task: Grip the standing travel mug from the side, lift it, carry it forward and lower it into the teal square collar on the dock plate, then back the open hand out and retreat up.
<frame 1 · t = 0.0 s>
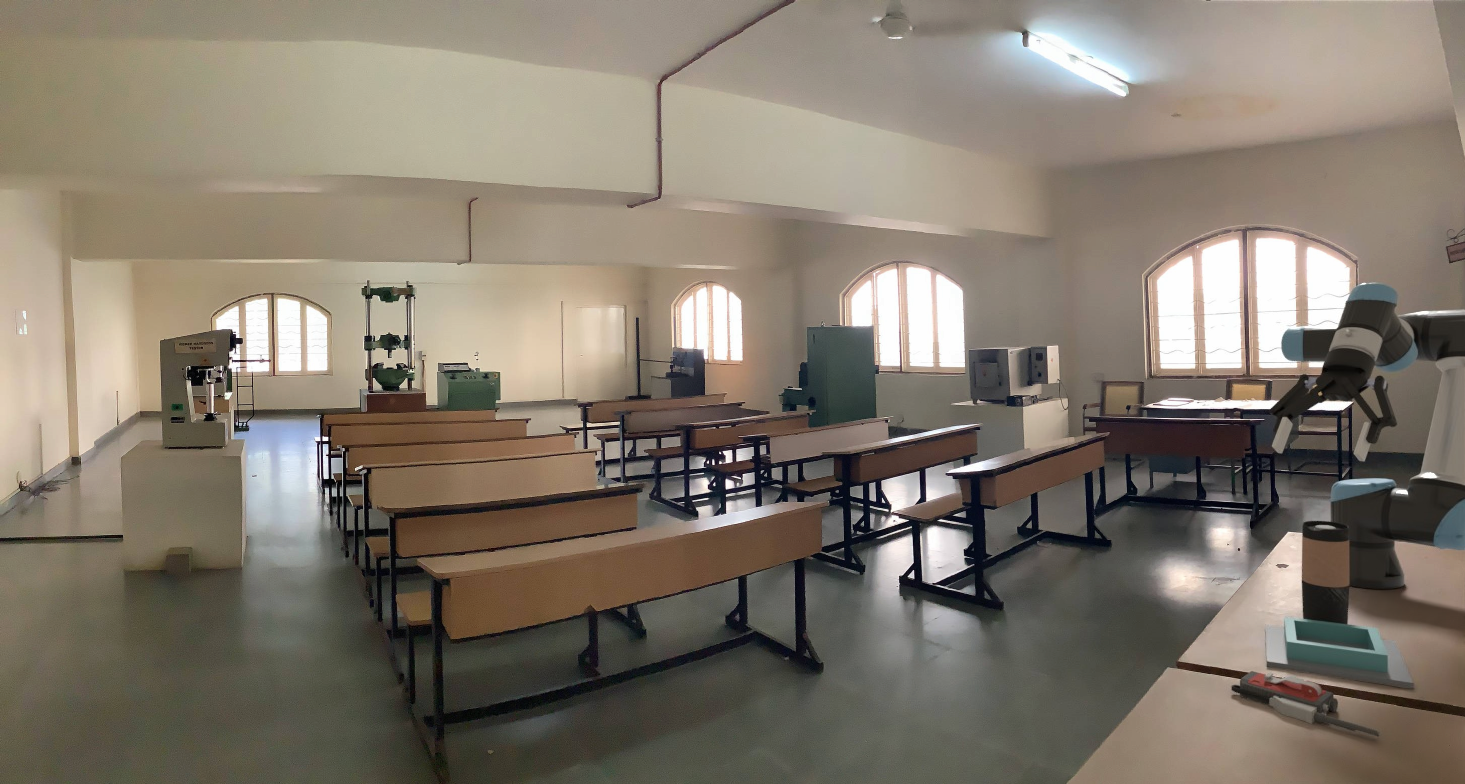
hand: (1316, 453, 149), 36 cm above the table, tool tilted 35°, fingers open, 13 cm apart
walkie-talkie: (1306, 713, 127), on the table
mug dock: (1332, 656, 146), on the table
travel mug: (1325, 624, 161), on the table
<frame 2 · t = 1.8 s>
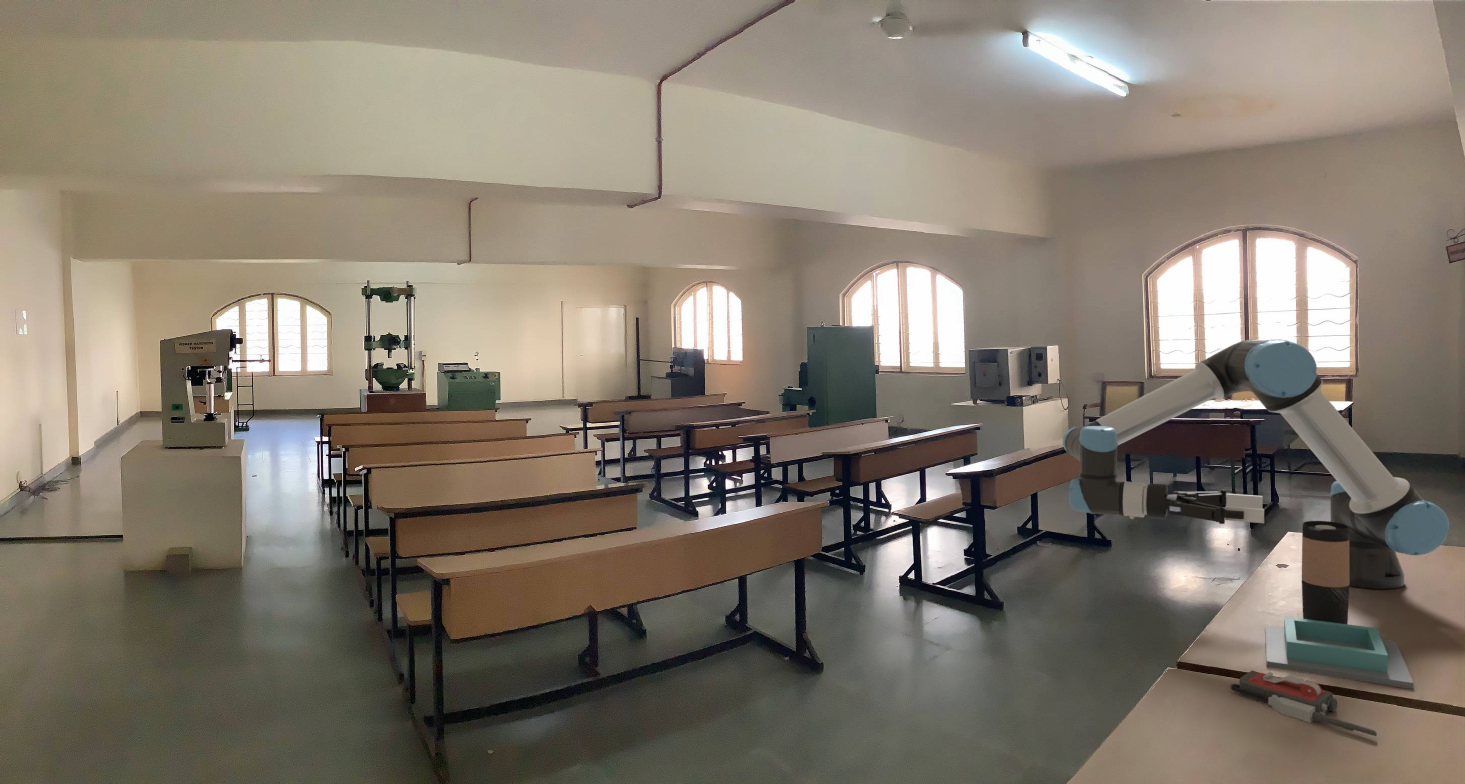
hand: (1263, 509, 165), 22 cm above the table, tool horizontal, fingers open, 13 cm apart
nothing on the table moved.
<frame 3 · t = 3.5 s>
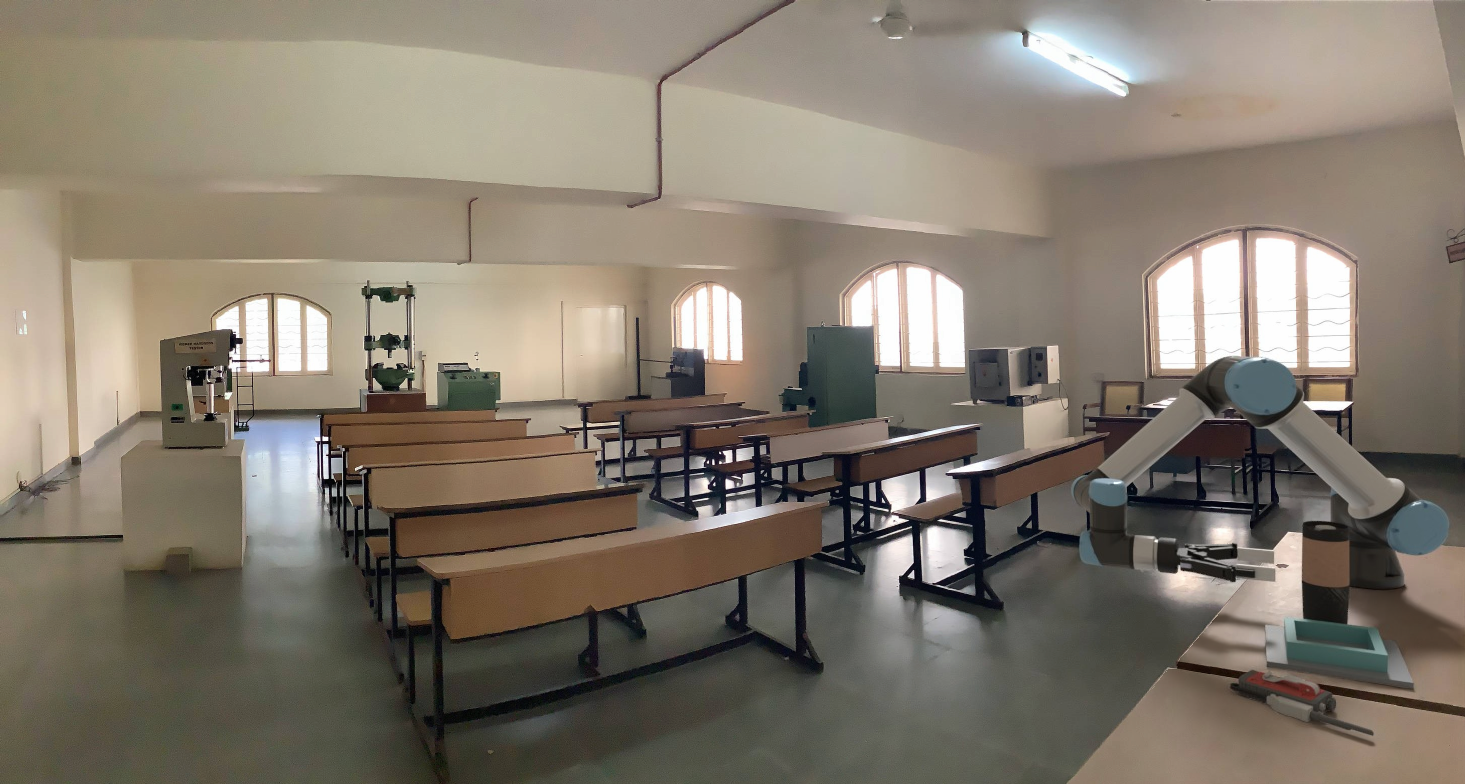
hand: (1275, 565, 165), 11 cm above the table, tool horizontal, fingers open, 13 cm apart
nothing on the table moved.
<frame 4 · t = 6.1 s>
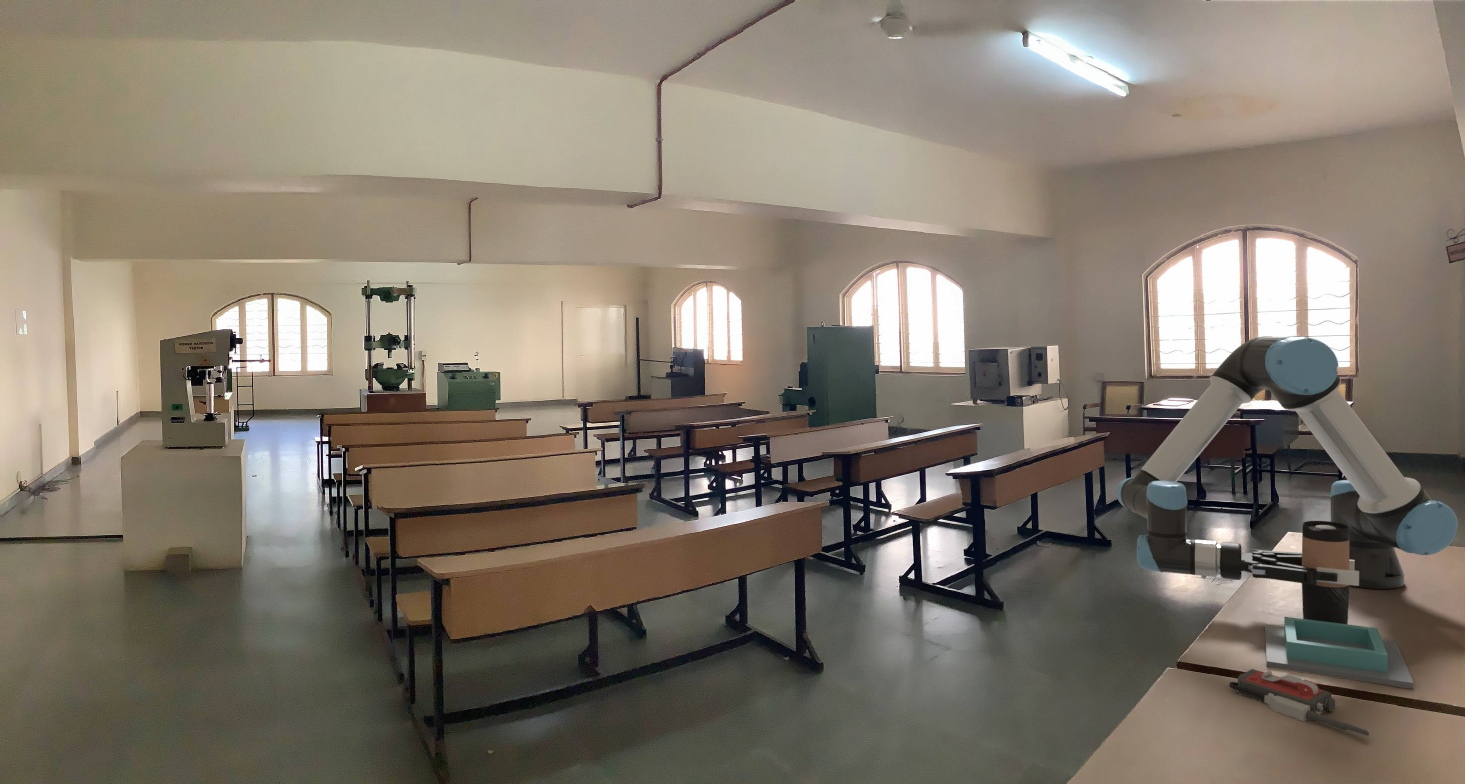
hand: (1356, 572, 158), 11 cm above the table, tool horizontal, fingers closed on travel mug, 7 cm apart
travel mug: (1325, 624, 161), on the table, touching gripper
everything else where it was.
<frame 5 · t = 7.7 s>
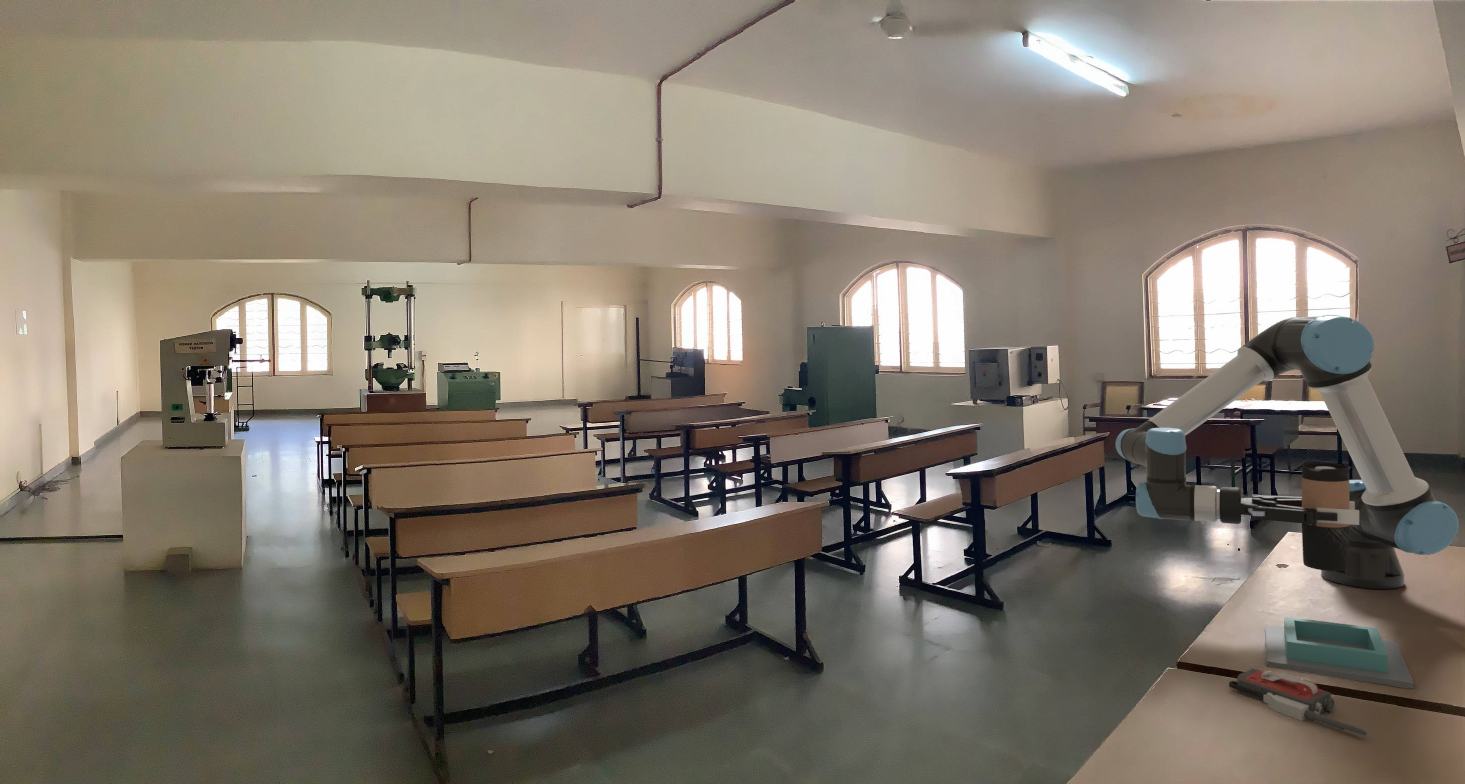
hand: (1356, 512, 157), 23 cm above the table, tool horizontal, fingers closed on travel mug, 7 cm apart
travel mug: (1325, 566, 160), point 12 cm above the table, touching gripper
everything else where it was.
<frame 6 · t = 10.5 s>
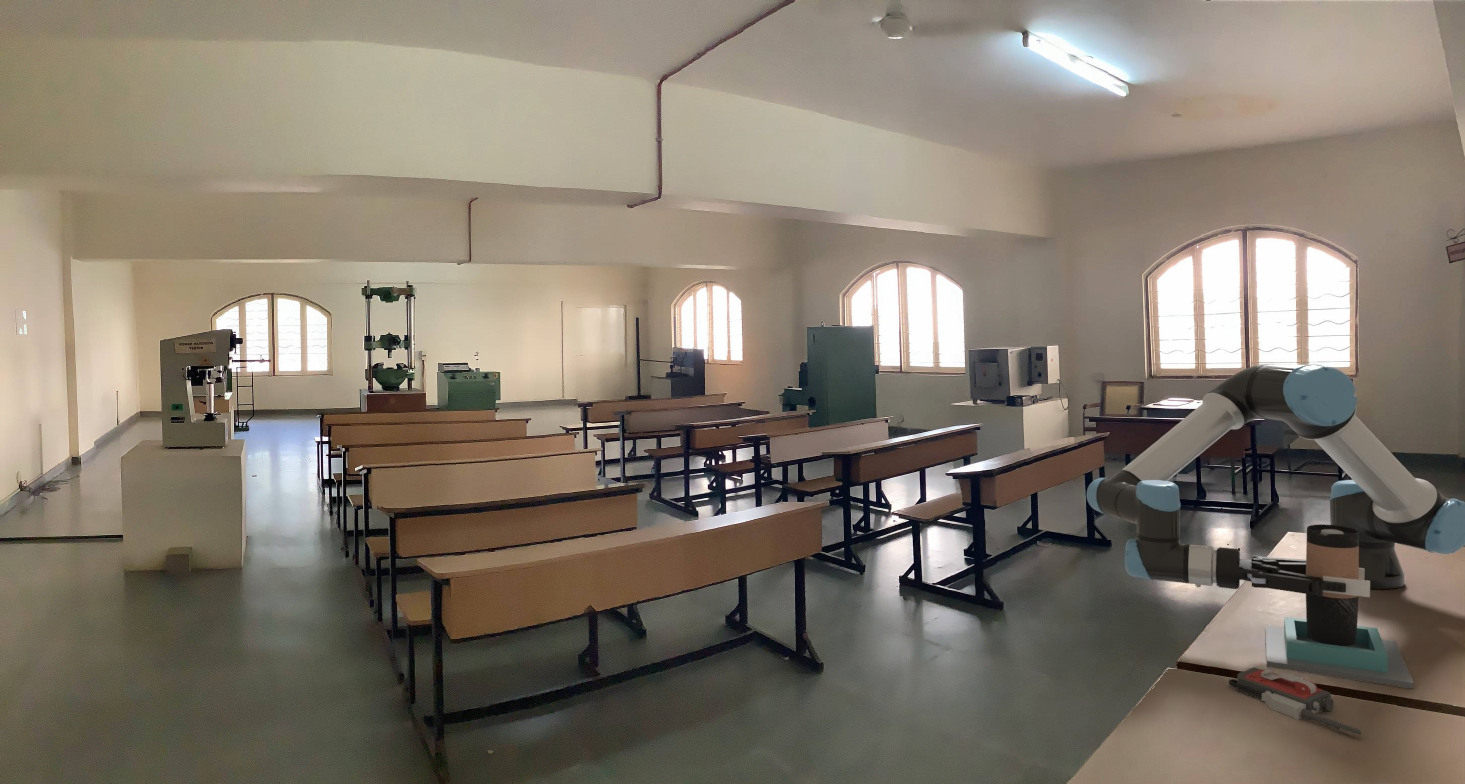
hand: (1366, 582, 142), 14 cm above the table, tool horizontal, fingers closed on travel mug, 7 cm apart
travel mug: (1331, 639, 146), point 3 cm above the table, touching gripper
when the fingers open (13 cm above the table, at t = 11.2 s): travel mug stays where it is, resting on mug dock.
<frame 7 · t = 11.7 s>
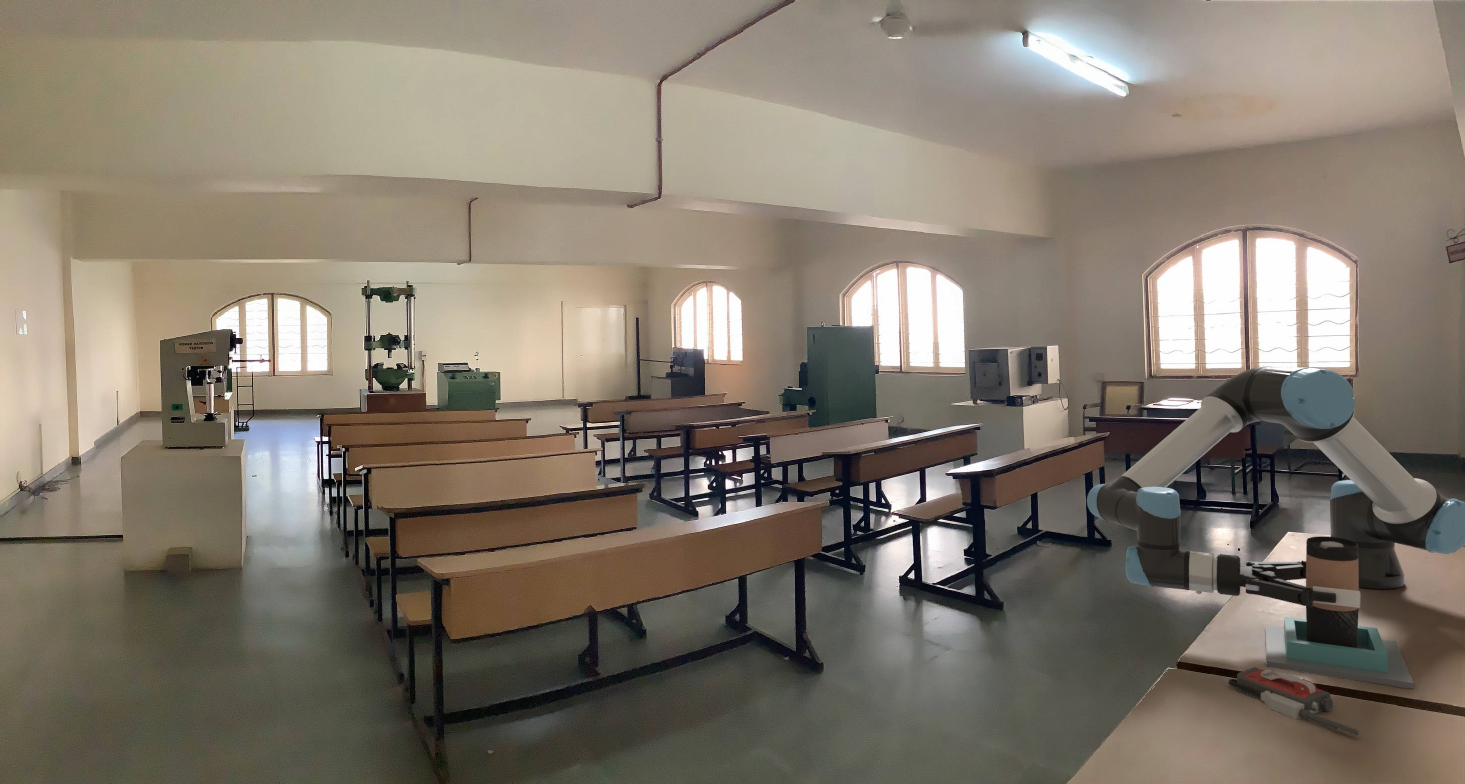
hand: (1356, 587, 143), 13 cm above the table, tool horizontal, fingers open, 13 cm apart
travel mug: (1331, 651, 146), point 1 cm above the table, touching mug dock
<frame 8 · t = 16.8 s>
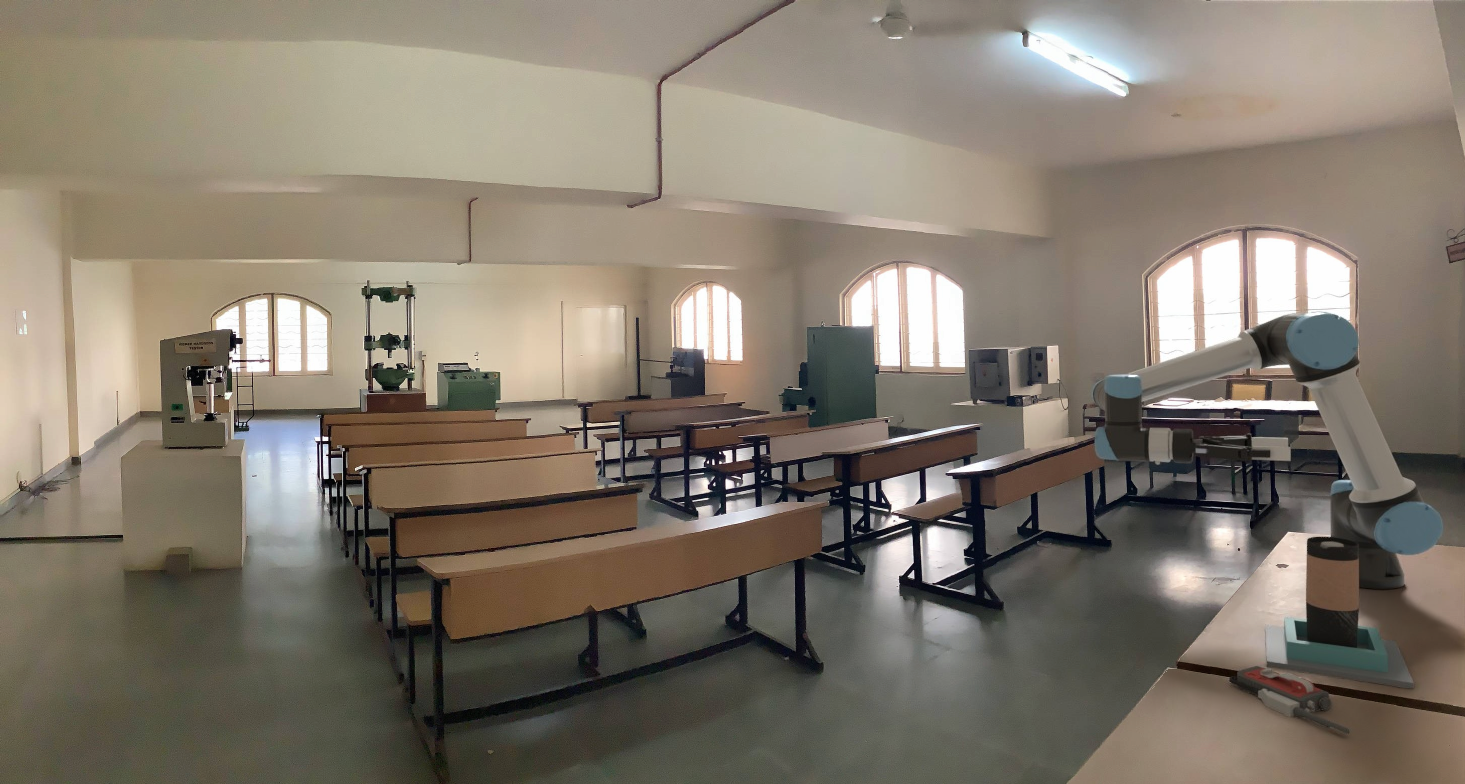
hand: (1289, 449, 167), 34 cm above the table, tool horizontal, fingers open, 13 cm apart
at the end: travel mug 0.1 cm off-centre on the mug dock, point 0.8 cm above the mug dock's base; travel mug tilted 0°; the gripper is holding nothing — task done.
